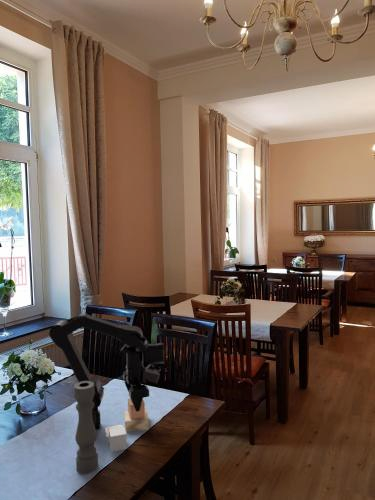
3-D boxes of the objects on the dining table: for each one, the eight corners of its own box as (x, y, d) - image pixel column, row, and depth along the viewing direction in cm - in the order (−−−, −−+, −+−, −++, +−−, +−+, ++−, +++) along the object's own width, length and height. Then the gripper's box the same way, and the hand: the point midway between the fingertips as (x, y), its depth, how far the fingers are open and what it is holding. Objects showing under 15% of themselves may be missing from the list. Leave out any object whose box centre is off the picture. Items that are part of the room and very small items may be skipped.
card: (106, 437, 131) (106, 436, 131) (104, 428, 137) (104, 427, 137) (124, 434, 133) (124, 433, 133) (122, 425, 139) (122, 424, 139)
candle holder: (87, 476, 112) (83, 391, 110) (71, 469, 115) (68, 386, 113) (102, 464, 117) (99, 383, 115) (87, 458, 120) (84, 378, 118)
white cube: (111, 451, 123) (110, 436, 123) (109, 443, 128) (108, 428, 128) (127, 448, 125) (126, 433, 124) (124, 440, 130) (124, 425, 129)
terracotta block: (130, 419, 136) (130, 405, 135) (128, 412, 141) (127, 398, 140) (144, 416, 137) (144, 402, 137) (142, 410, 142) (141, 396, 142)
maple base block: (125, 432, 135) (124, 421, 134) (125, 420, 143) (124, 410, 142) (148, 430, 136) (148, 419, 136) (147, 418, 144) (147, 408, 144)
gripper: (163, 370, 131) (164, 415, 132) (151, 352, 149) (152, 392, 150) (130, 374, 128) (131, 421, 129) (122, 355, 145) (123, 396, 147)
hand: (136, 406), depth 139 cm, fingers open, 7 cm apart
